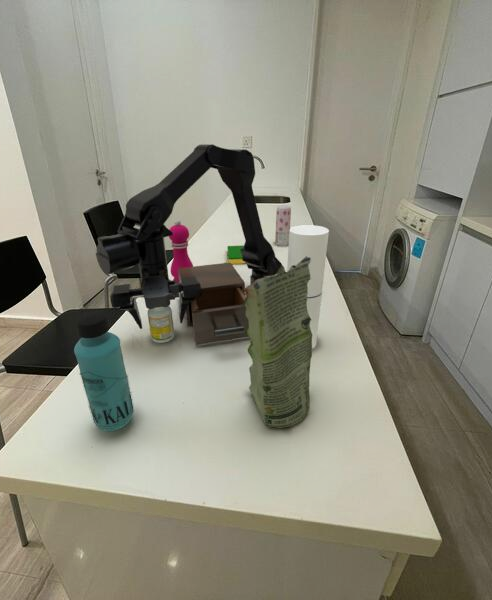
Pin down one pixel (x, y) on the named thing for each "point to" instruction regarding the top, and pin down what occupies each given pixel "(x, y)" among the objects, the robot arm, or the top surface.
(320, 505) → the top surface
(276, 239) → the beverage can
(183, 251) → the pepper mill
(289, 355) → the pouch
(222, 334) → the drawer
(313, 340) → the cylindrical container
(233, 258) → the dish sponge
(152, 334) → the supplement bottle
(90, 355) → the beverage bottle
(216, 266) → the cabinet
